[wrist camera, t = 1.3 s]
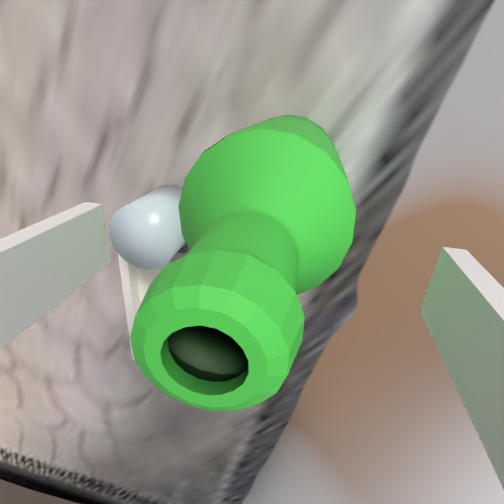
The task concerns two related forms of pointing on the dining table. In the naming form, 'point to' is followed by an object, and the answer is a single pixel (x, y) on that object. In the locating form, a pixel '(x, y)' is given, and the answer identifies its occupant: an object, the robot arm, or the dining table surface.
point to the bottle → (245, 265)
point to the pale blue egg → (149, 228)
